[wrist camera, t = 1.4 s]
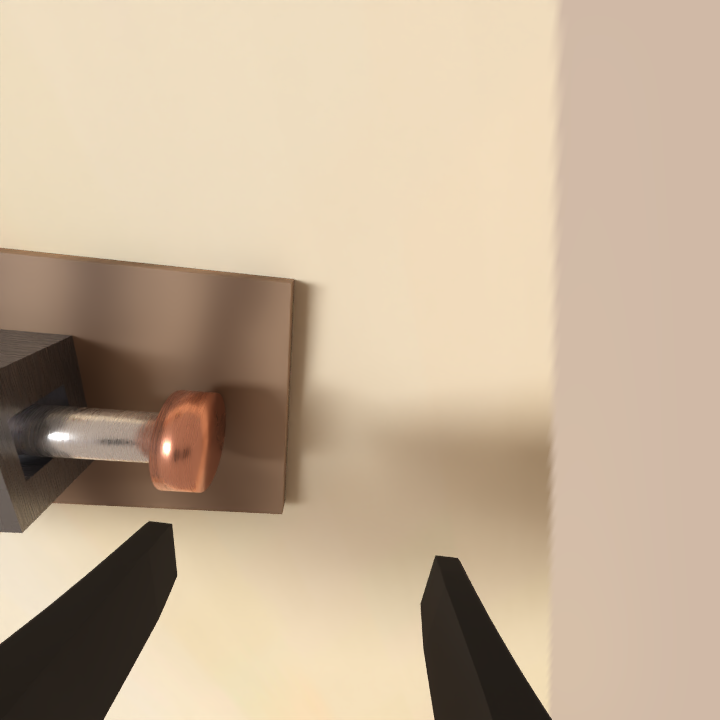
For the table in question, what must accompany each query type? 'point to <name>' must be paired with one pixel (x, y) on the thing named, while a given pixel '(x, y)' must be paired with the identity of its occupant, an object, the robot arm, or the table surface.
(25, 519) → the bearing housing
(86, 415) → the shaft
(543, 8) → the table surface
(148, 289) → the base plate
